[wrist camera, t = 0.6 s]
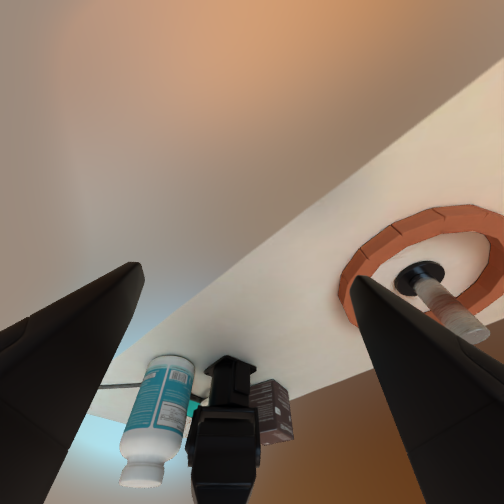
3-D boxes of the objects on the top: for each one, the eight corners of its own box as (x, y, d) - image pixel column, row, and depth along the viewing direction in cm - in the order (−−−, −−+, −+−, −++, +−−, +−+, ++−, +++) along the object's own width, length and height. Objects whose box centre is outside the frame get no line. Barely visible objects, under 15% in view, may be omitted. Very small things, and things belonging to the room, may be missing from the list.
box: (288, 390, 41) (295, 440, 35) (261, 398, 43) (263, 446, 37) (273, 378, 38) (277, 429, 32) (245, 386, 40) (244, 436, 34)
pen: (152, 387, 39) (77, 391, 39) (154, 384, 39) (80, 388, 40) (151, 384, 38) (76, 388, 39) (153, 381, 39) (78, 385, 40)
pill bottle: (152, 374, 37) (112, 490, 26) (146, 351, 33) (95, 477, 22) (196, 377, 38) (174, 491, 27) (196, 354, 34) (170, 478, 23)
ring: (389, 340, 32) (395, 352, 31) (308, 286, 26) (311, 298, 24) (533, 268, 24) (551, 279, 23) (469, 164, 18) (489, 169, 16)
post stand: (408, 298, 27) (456, 359, 21) (386, 280, 25) (432, 340, 19) (449, 275, 25) (517, 335, 18) (429, 253, 23) (497, 311, 17)
